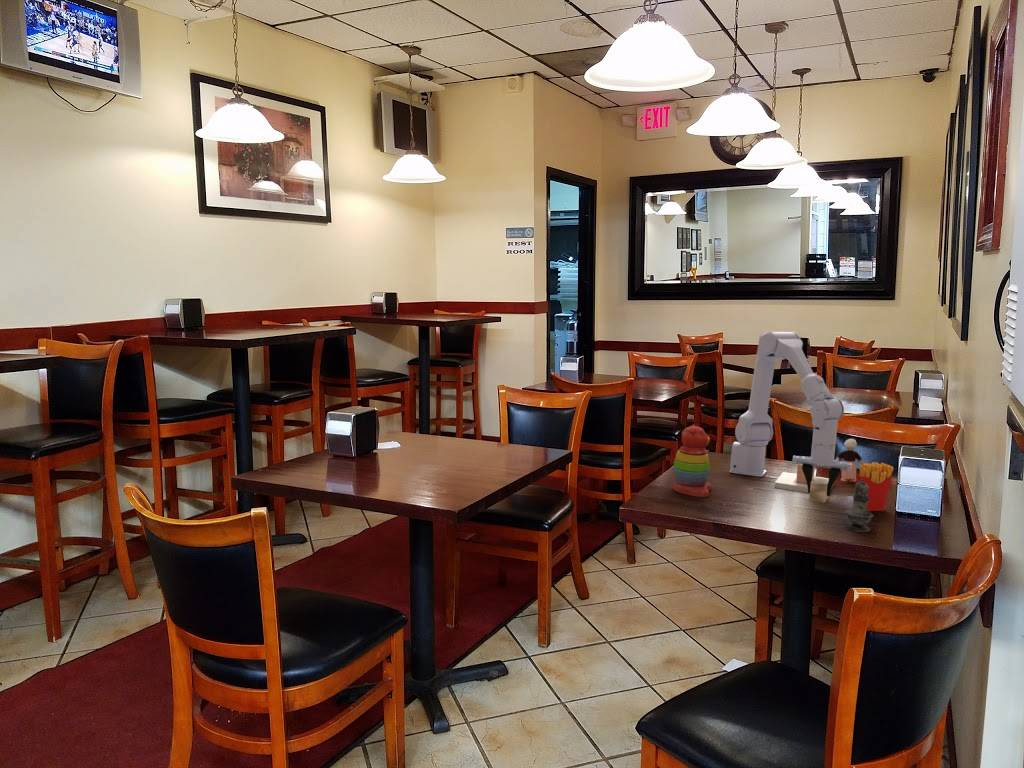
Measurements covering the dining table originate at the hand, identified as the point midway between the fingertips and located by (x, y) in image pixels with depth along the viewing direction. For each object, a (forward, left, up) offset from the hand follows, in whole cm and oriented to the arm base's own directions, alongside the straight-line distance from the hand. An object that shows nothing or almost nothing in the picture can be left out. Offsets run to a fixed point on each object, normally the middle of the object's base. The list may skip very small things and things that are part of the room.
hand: (819, 493), depth 205 cm
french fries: (+13, -2, -2) cm, 13 cm away
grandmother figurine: (+5, +25, -2) cm, 26 cm away
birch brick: (0, 0, -1) cm, 1 cm away
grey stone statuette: (+11, -21, -2) cm, 24 cm away
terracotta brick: (-5, +12, 0) cm, 13 cm away
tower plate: (-5, +12, -1) cm, 13 cm away
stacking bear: (-31, -12, -2) cm, 33 cm away
